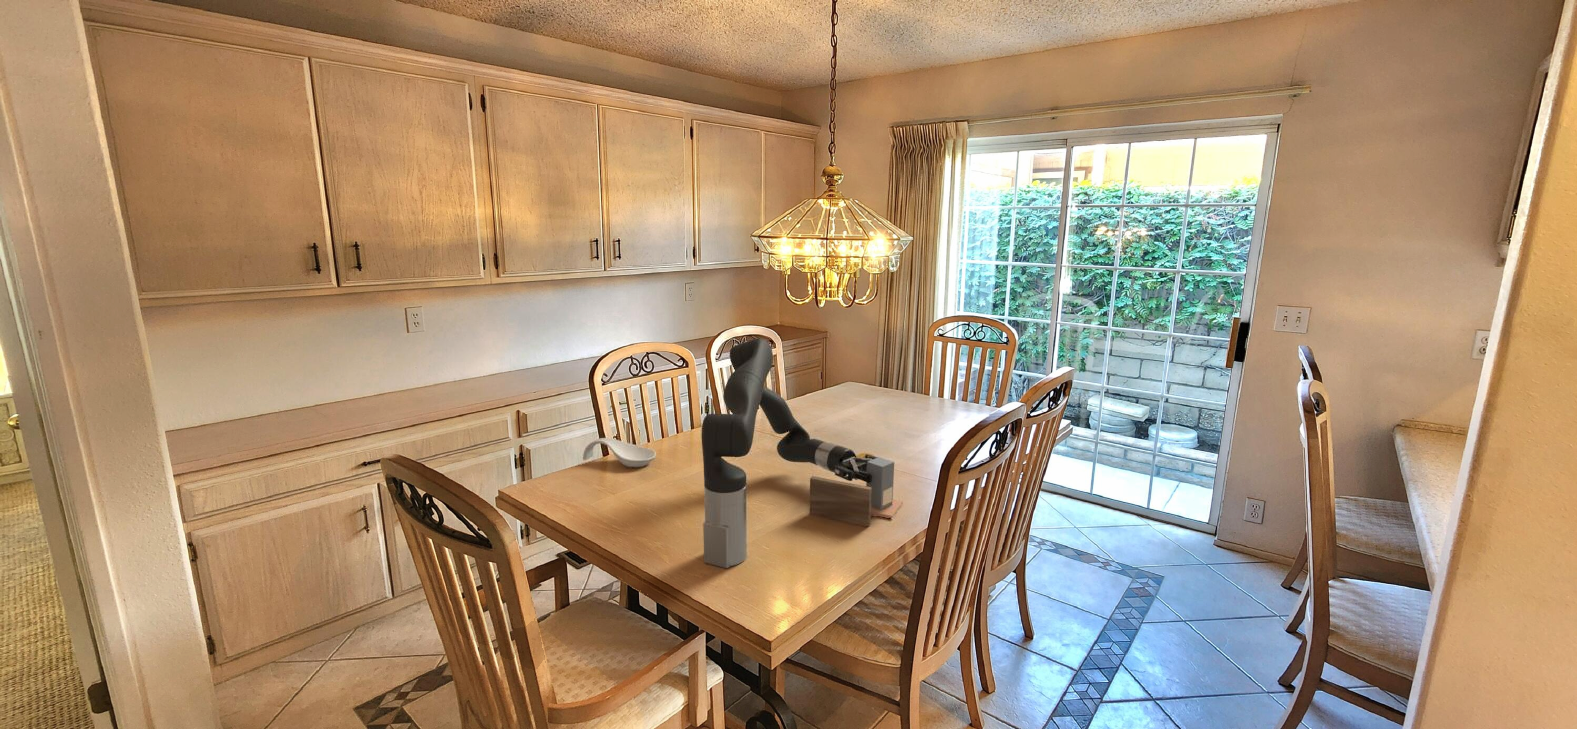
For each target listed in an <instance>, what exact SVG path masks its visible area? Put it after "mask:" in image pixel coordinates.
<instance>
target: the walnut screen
mask: <svg viewBox="0 0 1577 729" xmlns="http://www.w3.org/2000/svg"><path fill="white" fill-rule="evenodd" d="M871 495H872V487H867V486H865V485H861V484H856V483H851V482H845V481H839V480H835V479H831V478H825V477H819V476H813V475H812V476H810V478H809V512H808V513H809V515H810V516H814V517H815V516H816V517H820V518H824V519H830V520H832V521H833V520H834V521H839V522H842V521H844V522H843V523H847V522H848V524H851V525H852V524H853V525H856V524H857V526H861V525H862V527H865V526H868V527H867V528H869V527H870V526H871V520H872V519H871V518H872V517H871V516H872V515H871ZM869 525H870V526H869Z"/></svg>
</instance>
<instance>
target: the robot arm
mask: <svg viewBox="0 0 1577 729" xmlns="http://www.w3.org/2000/svg"><path fill="white" fill-rule="evenodd" d="M729 359H730V363H731V366H732V368H733V370H734V371H733V372H732V373H731V374H730V375H729V377H728V379H727V381H726V385H725V387H724V390H723V394H722V395H723V396H722V398H723V401H724V402H723V403H724V405H725V407H727V409H728V410H729V411H730V413H709V414H707V415H705V417H704V418H703V420H702V424H701V448H702V460H703V461H702V462H703V480H704V481H703V482H704V483H703V484H704V486H703V490H704V491H703V492H704V522H703V523H702V526H703V527H702V530H703V532H702V533H703V536H702V538H703V562H704V563H706V564H709V565H712V566H717V567H721V568H723V569H729V568H730V567H732V566H736V565H739V564H741V563H742V562H744V561H745V560H746V559H747V556H748V555H747V553H748V551H747V549H748V544H747V542H748V541H747V537H748V536H747V534H748V533H747V527H748V526H747V473H746V472H745V470H744V469H742V468H741V467H739V466H737V465H734V464H733V463H730V462H728V461H727V460H725V459H724V458H742V457H745V456H747V455H748V454H749V452H750V451H751V449H752V446H753V441H754V434H755V427H756V426H755V425H756V419H757V413H758V410H759V408H760V409H761V410H762V412H763V413H764V415H765V417H766V419H767V421H768V423H769V424H770V426H771V429H772V430H773V431H774V433H776V434H778V435H784V434H785V435H784V436H783V437H782V438H781V439H780V440H779V441H778V443H777V445H776V452H777V454H778V455H779V456H780V458H782V459H783V460H785V461H787V462H790V463H791V462H792V463H810V464H813V465H815V466H818V467H820V468H822V469H824V470H826V471H829V472H831V473H834V476H837V477H839V478H841V479H844V480H846V481H849V482H852V481H853V480H856V481H858V480H860V481H862V482H865V483H866V482H867V483H870V482H871V481H872V475H871V474H869V473H867V462H868V461H870V460H873V459H875V458H878V457H879V456H875V455H874V456H872V455H873V454H872V455H868V454H866V455H865V458H862V457H857V455H856V454H855V452H854V451H853V450H852V449H850V448H848V447H844V446H841V445H839V444H835V443H832V442H827V441H823V440H820V439H817V438H811V436H810V434H809V433H808V431H807V430H806V429H805V428H804V427H803V426H802V425H801V424H800V423H799V421H797V419H796V418H795V417H794V415H793V413H792V411H791V409H790V407H789V406H788V404H787V402H786V400H785V399H784V398H783V397H782V396H781V395H780V394H779V393H777V392H775V391H773V390H772V389H770V388H769V387H767V386H765V383H766V380H767V377H768V375H769V374H770V372H771V369H772V367H773V363H774V354H773V349H772V346H771V345H770V343H769V341H767V340H766V339H764V338H762V337H759V338H758V337H756V338H753V339H751V340H747V341H745V342H742V343H739V344H736V345H734V346H732V347H731V348H730V350H729Z"/></svg>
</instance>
